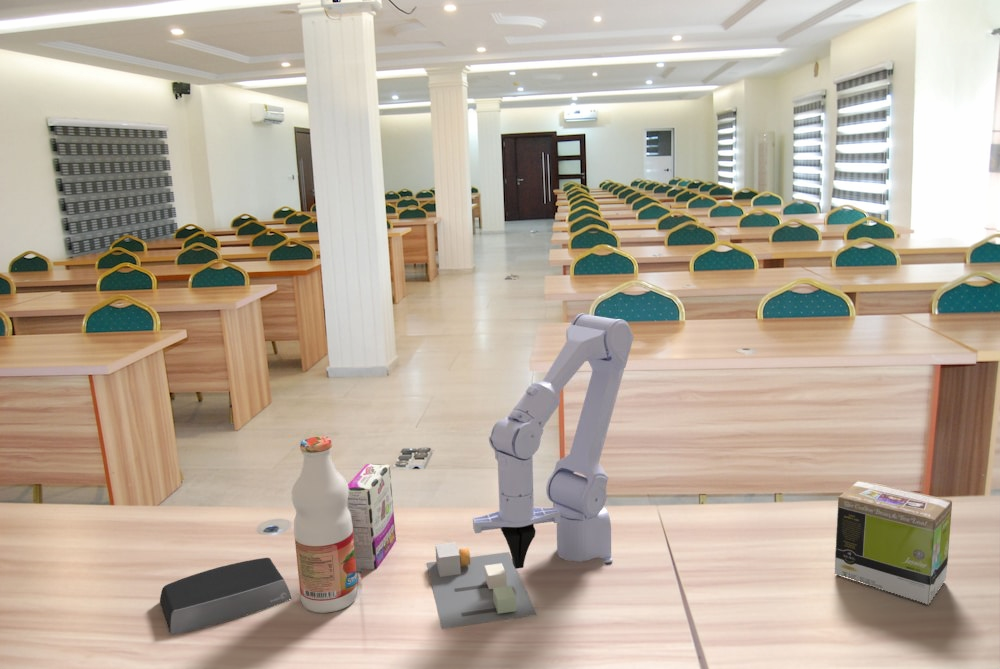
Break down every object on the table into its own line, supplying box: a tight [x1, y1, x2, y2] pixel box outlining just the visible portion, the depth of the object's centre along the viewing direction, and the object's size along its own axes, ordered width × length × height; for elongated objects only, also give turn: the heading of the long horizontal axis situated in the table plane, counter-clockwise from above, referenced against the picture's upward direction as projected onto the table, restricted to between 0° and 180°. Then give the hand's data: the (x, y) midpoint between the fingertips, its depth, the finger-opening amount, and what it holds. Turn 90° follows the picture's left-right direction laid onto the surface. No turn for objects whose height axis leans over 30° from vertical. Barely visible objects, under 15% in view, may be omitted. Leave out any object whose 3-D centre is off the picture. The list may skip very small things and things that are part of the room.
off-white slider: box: [485, 563, 507, 589], centre depth 136 cm, size 3×4×2 cm
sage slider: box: [493, 586, 517, 614], centre depth 128 cm, size 3×4×2 cm
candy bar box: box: [347, 463, 397, 573], centre depth 146 cm, size 11×5×16 cm, turn 168°
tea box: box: [834, 479, 953, 605], centre depth 134 cm, size 15×10×15 cm, turn 47°
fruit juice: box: [291, 435, 359, 614], centre depth 132 cm, size 9×9×28 cm
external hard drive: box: [159, 557, 293, 636], centre depth 136 cm, size 13×19×4 cm
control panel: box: [426, 541, 538, 630], centre depth 135 cm, size 15×21×5 cm
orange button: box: [458, 547, 471, 566], centre depth 142 cm, size 2×3×3 cm, turn 11°
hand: (518, 565), depth 136 cm, fingers closed
